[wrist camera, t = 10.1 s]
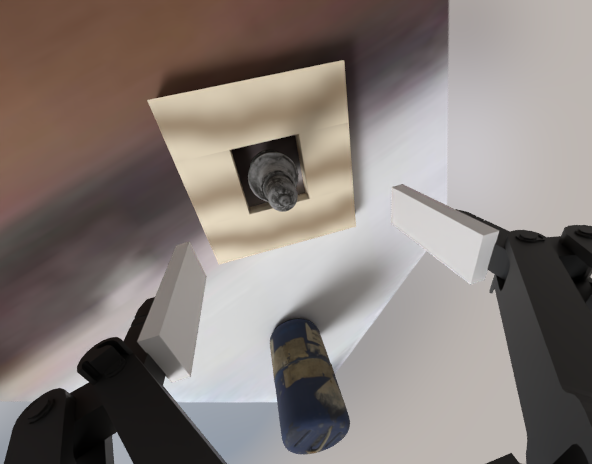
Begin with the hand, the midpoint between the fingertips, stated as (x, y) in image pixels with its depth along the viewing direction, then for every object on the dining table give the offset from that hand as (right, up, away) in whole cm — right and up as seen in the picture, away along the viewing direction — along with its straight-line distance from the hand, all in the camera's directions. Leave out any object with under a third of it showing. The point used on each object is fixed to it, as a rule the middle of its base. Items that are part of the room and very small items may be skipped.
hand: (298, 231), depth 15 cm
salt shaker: (-4, +8, +16) cm, 18 cm away
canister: (-1, -19, +31) cm, 36 cm away
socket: (-3, +8, +15) cm, 18 cm away
